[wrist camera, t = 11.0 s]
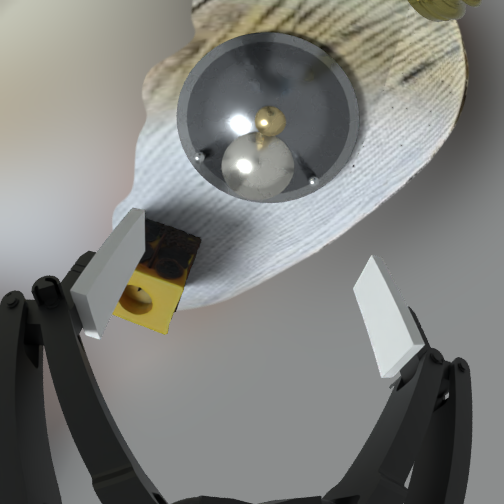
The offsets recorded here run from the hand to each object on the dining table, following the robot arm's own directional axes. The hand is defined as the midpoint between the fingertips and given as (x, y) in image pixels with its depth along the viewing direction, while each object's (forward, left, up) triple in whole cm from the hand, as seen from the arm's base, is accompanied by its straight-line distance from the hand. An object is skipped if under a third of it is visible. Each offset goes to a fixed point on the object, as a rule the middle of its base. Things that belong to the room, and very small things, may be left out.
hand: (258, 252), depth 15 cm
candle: (+16, -11, -19) cm, 27 cm away
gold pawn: (-30, +15, -19) cm, 38 cm away
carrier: (-5, 0, -19) cm, 19 cm away
